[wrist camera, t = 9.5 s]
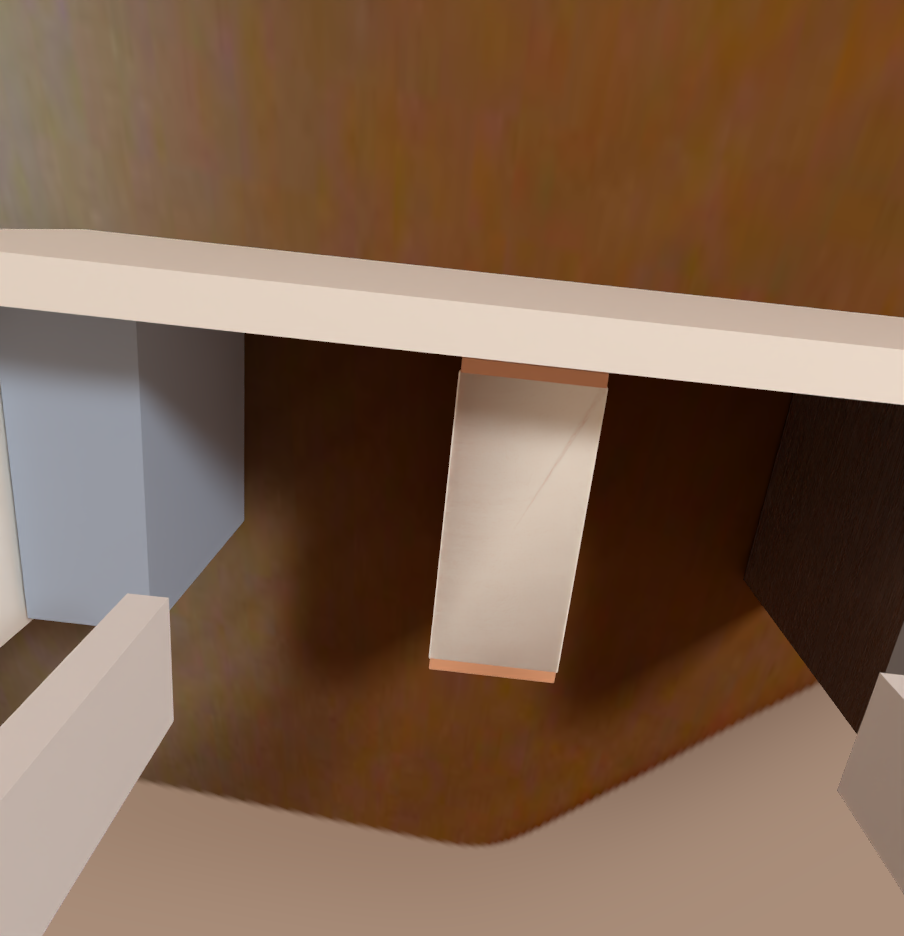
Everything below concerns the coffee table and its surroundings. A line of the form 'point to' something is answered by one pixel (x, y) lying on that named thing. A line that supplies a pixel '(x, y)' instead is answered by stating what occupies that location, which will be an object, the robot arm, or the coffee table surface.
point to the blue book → (119, 456)
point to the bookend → (836, 544)
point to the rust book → (514, 516)
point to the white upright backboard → (434, 323)
